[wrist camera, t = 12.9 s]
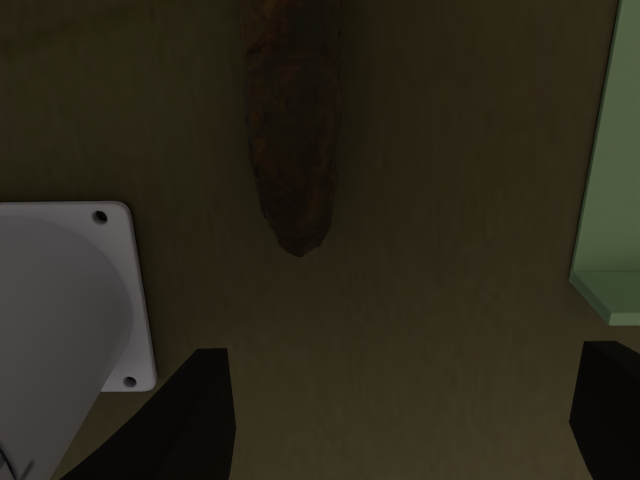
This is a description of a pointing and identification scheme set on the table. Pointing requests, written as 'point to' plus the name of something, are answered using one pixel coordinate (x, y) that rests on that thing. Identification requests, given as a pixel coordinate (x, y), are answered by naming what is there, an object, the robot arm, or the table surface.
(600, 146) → the dustpan
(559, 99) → the table surface
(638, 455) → the robot arm
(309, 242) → the hand tool
